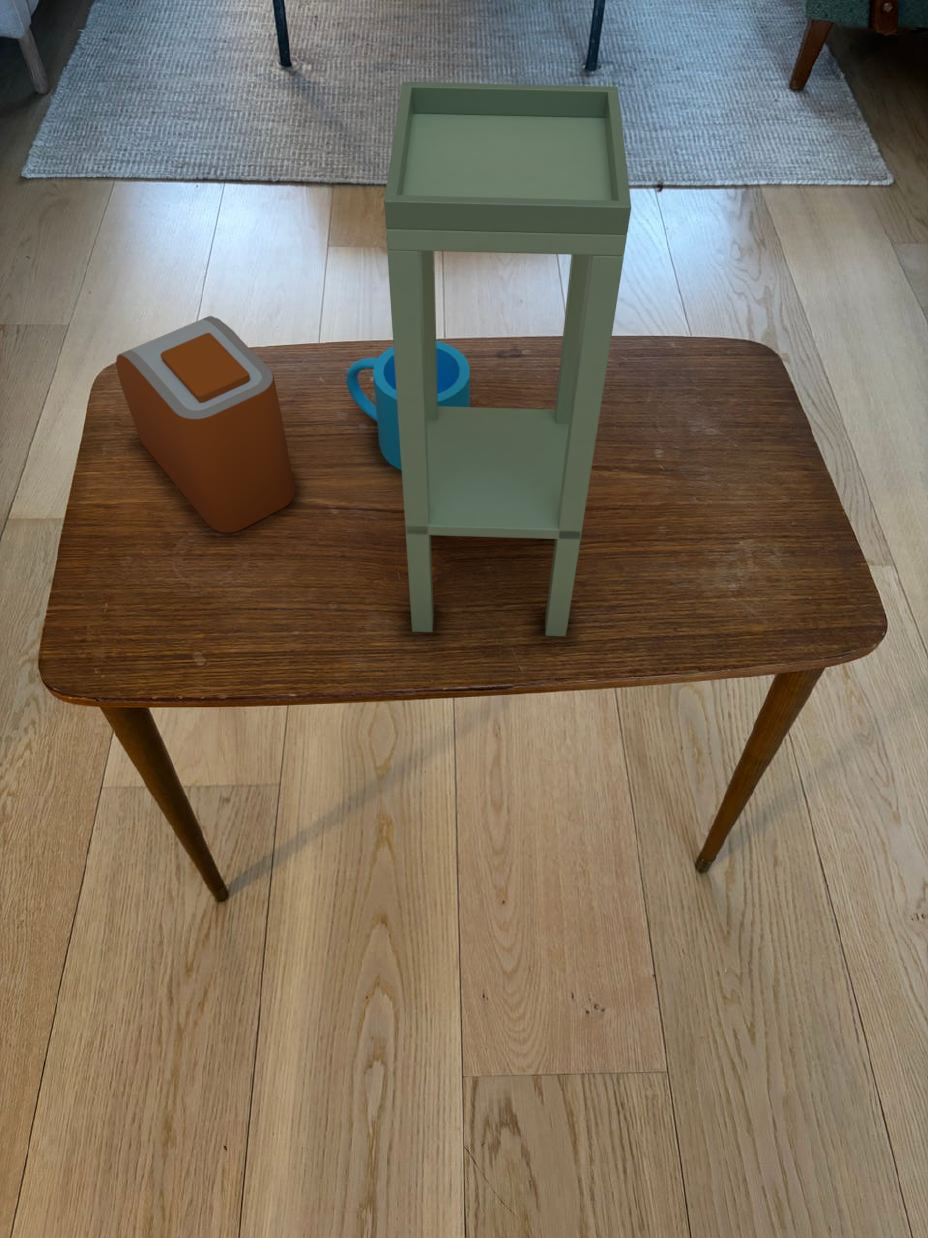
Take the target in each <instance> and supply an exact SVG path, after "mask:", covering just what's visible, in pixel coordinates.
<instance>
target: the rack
mask: <svg viewBox="0 0 928 1238" xmlns="http://www.w3.org/2000/svg"><path fill="white" fill-rule="evenodd" d="M400 87H401V88H400V93H399V100H398V107H397V113H396V120H395V127H394V133H393V141H392V147H391V153H390V158H389V166H388V173H387V180H386V186H385V193H384V200H383V205H384V218H385V219H384V222H385V223H384V224H385V237H386V249H387V250H386V251H387V267H388V281H389V282H388V284H389V298H390V299H389V300H390V314H391V328H392V343H393V344H392V345H393V346H394V362H395V377H396V392H397V407H398V423H399V438H400V453H401V469H402V470H401V484H402V497H403V498H402V500H403V512H404V527H405V544H406V558H407V559H406V560H407V573H408V574H407V575H408V591H409V604H410V620H411V631H412V632H413V633H433V629H434V619H435V618H434V617H435V616H434V615H435V614H434V590H433V589H434V587H433V585H434V584H433V560H432V558H433V557H432V555H433V554H432V536H447V537H480V538H481V537H482V538H509V539H510V538H511V539H512V538H513V539H542V540H544V539H545V540H554V543H553V551H552V552H553V554H552V559H551V567H550V568H551V569H550V577H549V585H548V593H547V602H546V610H545V619H544V631H545V633H544V634H545V635H544V636H546V637H566V636H567V631H568V626H569V619H570V618H569V617H570V612H571V605H572V599H573V593H574V592H573V591H574V586H575V579H576V573H577V572H576V571H577V565H578V560H579V552H580V546H581V540H582V532H583V527H584V520H585V515H586V514H585V513H586V508H587V507H586V506H587V500H588V493H589V487H590V482H591V481H590V480H591V475H592V467H593V461H594V455H595V448H596V441H597V435H598V427H599V423H600V422H599V421H600V414H601V409H602V403H603V396H604V390H605V389H604V388H605V382H606V377H607V370H608V364H609V356H610V351H611V350H610V349H611V345H612V344H611V343H612V337H613V331H614V323H615V316H616V310H617V305H618V304H617V303H618V298H619V297H618V296H619V290H620V284H621V278H622V271H623V265H624V258H625V257H624V256H625V252H626V245H627V240H628V239H627V238H628V233H629V227H630V226H629V225H630V220H631V213H632V202H631V192H630V191H631V190H630V183H629V174H628V166H627V156H626V148H625V138H624V131H623V122H622V121H623V120H622V113H621V104H620V95H619V88H618V86H612V85H611V86H609V85H568V84H567V85H565V84H522V83H520V84H519V83H479V82H477V83H475V82H473V83H472V82H437V81H436V82H435V81H434V82H432V81H431V82H430V81H429V82H428V81H426V82H425V81H402V82H401V86H400ZM435 252H452V253H453V252H455V253H456V252H457V253H458V252H459V253H489V254H490V253H493V254H494V253H495V254H497V253H498V254H502V253H503V254H533V255H534V254H536V255H570V265H569V275H568V283H567V293H566V303H565V312H564V322H563V331H562V340H561V341H562V342H561V351H560V361H559V371H558V379H557V388H556V399H555V409H546V408H543V409H542V408H515V407H513V408H511V407H510V408H509V407H478V406H477V407H475V406H473V407H472V406H470V407H444V406H438V394H437V349H436V341H437V307H436V305H437V304H436V261H435ZM393 346H392V347H393Z"/></svg>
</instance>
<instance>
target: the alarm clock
mask: <svg viewBox="0 0 928 1238" xmlns="http://www.w3.org/2000/svg"><path fill="white" fill-rule="evenodd" d="M115 366H116V370H117V377H118V381H119V383H120V386H121V387H120V388H121V389H122V392H123V395H124V398H125V400H126V403H127V407H128V409H129V412H130V415H131V418H132V420H133V424H134V426H135V430H136V432H137V435H138V438H139V440H140V443H141V444H142V446H143V447H144V448H145V449H146V450H147V451H148V454H150V455H151V457H152V458H153V459H154V460H155V461H156V463H157V464H158V465H159V467H161V469H162V470H163V471H164V472H165V474H166V475H167V476H168V477H169V479H170V480H171V481H172V482H173V483H174V484H175V486H176V487H177V488H178V490H179V491H180V492H181V493H182V494H183V496H184V497H185V498H186V500H187V501H188V502H189V503H190V505H191V506H192V507H193V508H194V509H195V511H196V512H197V513H198V515H199V516H200V517H201V518H202V519H203V521H204V522H205V523H206V524H207V526H208V527H210V528H211V529H212V530H214V531H216V532H218V533H222V534H231V533H236V532H239V531H242V530H245V529H246V528H247V527H249V526H252V525H254V524H255V523H258V522H259V521H261V520H263V519H265V518H267V517H269V516H271V515H273V514H274V513H276V512H278V511H281V510H282V509H285V508H286V507H287V506H289V505H290V504H291V502H293V500H294V498H295V496H296V486H295V480H294V477H293V476H294V474H293V471H292V465H291V459H290V455H289V449H288V444H287V440H286V434H285V427H284V423H283V422H284V421H283V418H282V412H281V407H280V402H279V401H280V400H279V397H278V391H277V385H276V381H275V375H274V373H273V371H272V370H271V369H270V368H269V367H268V366H267V365H266V364H265V363H264V361H263V360H261V358H260V357H259V356H258V355H257V354H256V353H255V352H254V351H253V350H252V349H251V348H250V347H249V346H248V344H246V343H245V342H244V341H243V340H242V339H241V338H240V337H239V335H238V334H237V333H236V332H235V331H234V329H232V328H231V327H229V326H228V325H227V323H224V322H223V321H222V320H221V319H220V318H217V317H215V316H212V315H208V316H207V317H204V318H201V319H199V320H196V321H195V322H192V323H189V324H187V325H185V326H182V327H180V328H178V329H175V330H173V331H170V332H168V333H166V334H163V335H161V336H159V337H157V338H154V339H151V340H149V341H147V342H144V343H142V344H140V345H137V346H135V347H133V348H131V349H128V350H125V351H123V352H121V353H118V354H117V356H116V360H115Z"/></svg>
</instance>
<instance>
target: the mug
mask: <svg viewBox="0 0 928 1238" xmlns="http://www.w3.org/2000/svg"><path fill="white" fill-rule="evenodd" d="M436 349H437V394H438V406H444V407H471V406H470V403H471V402H470V401H471V400H470V397H471V396H470V395H471V394H470V393H471V392H470V391H471V367H470V365H469V362H468V360H467V357H466V356H465V355H464V354H463V353H461V352H460V351H459V349H457V348H455V347H453V346H451V345H450V344H448V343H445V342H442V341H437V340H436ZM363 370H373V371H372V377H373V388H374V398H375V404H374V403H373V402H372V401H371V400H370V399H369V398H368V397H367V395H366V394H365V392H364V390H363V389H362V387H361V386H360V382H359V373H361V372H362V371H363ZM345 379H346V380H345V384H346V387H347V391H348V393H349V394H350V396H351V398H352V400H353V401H354V403H355V404H356V405H357V406H358V407H359V408H360V409H361V410H362V412H363V413H365V414H366V415H367V416H369V417H370V418H371V419H372V420H374V421H375V422H376V423H377V435H378V446H379V448H380V451H381V455H382V456H383V458H384V459H385V460H386V462H388V463H389V465H391V466H393V467H394V468H396V469H397V470H400V471H402V469H401V453H400V438H399V423H398V407H397V392H396V377H395V362H394V346H391V347H389V348H388V349H386V350H385V351H384V352H383V353H381V354H380V355H379V356H378V357H364V358H362V359H359V360H356V361H354V362H353V363H352V365H350V367H349V368H348V370H347V371H346V378H345Z"/></svg>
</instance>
